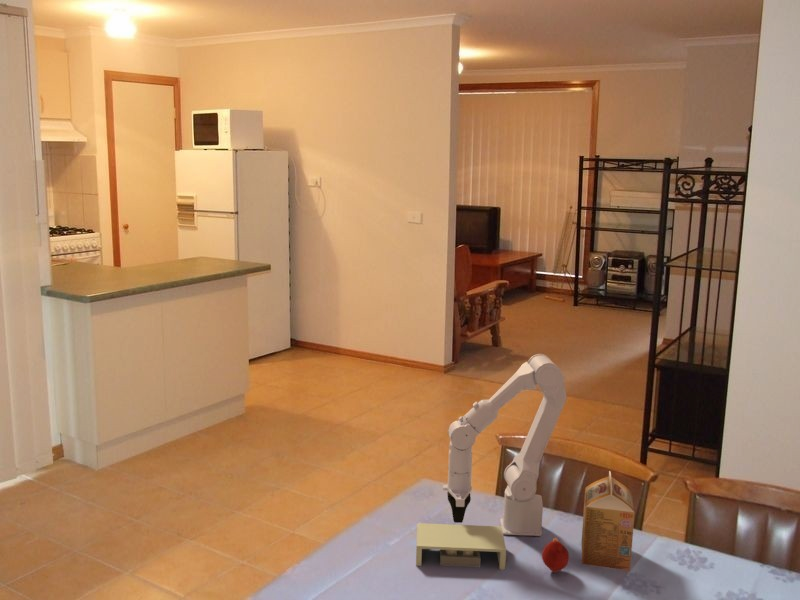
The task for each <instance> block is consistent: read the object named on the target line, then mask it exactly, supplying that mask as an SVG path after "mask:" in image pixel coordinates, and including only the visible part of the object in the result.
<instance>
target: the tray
mask: <svg viewBox="0 0 800 600" xmlns="http://www.w3.org/2000/svg"><path fill="white" fill-rule="evenodd" d="M439 561H440V562H439V565H440V566H447V567H449V566H450V567H451V566H452V567H470V568H471V567H473V568H474V567H475V568H481V561H482V560H481V551H466V550H442V549H439Z"/></svg>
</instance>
